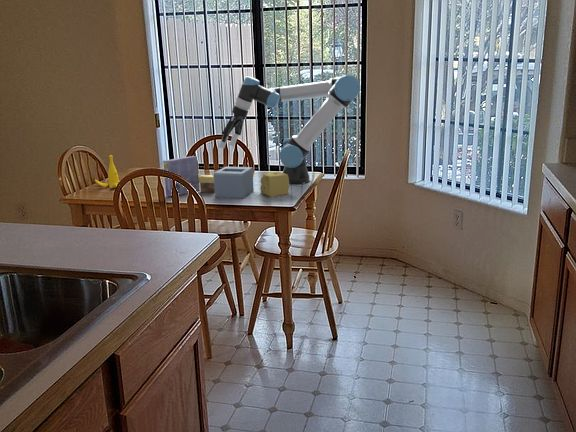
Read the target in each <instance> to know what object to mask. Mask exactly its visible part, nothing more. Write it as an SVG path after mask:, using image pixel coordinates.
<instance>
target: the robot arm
mask: <svg viewBox="0 0 576 432" xmlns="http://www.w3.org/2000/svg"><path fill="white" fill-rule="evenodd" d="M260 83H261V82H260V80H259V79H257V78H255V77H252V76H248V75H246V76H245V78H243V82H242V83H241V88H240V89H239V93H238V95H237V97H236V98H235V100H236V101H235V103H234V104H235V105H233V108H232V114H234V115H231V116H230V118H229V120H228V121H227V123H226V125H225V127H224V129H223V131H222V132H221V135H222V138H221V140H220V143H219V145H218V147H219V148H221V149H223V150H225V148H226V144H227V142H228V139H229V136H230V134H231V133H232V132H233V130H234V132H233V133H232V136H231V139H230V141H229V144H228V145H229V146H232V147H234V148H235V145H236V143H237V142H238V141H237V140H238V137H239V136H241V135H242V131H243V126H244V123H245V122H244V121H245V118H247V116H248V113H249V110H250V108H251V106H252V103H253V101H256V102H258V103H260V104H263V105H265V106H267V107H268V108H271V109H276V108H277V106H278V105H279V103H283V102H289V101H290V102H293V101H297V100H298V101H302V100H310V99H317V98H323V97H324V98H326V99H324V101H323V103H322V104H321V105H320V106H319V108H318V109H317V110H316V111H315V113H313V115H312V116H311V117H310V118H309V120H308V121H307V122H306V124H305V125H304V126H303V127H302V128H301V129H300V130H299V132H298V134H295V135H292V136H290V137H288V138H287V137H285V138H284V139H283V143H282V144H283V147H282V148H281V149H280V151H279V160H280V163H282V165H283V170H282V173H285V174H288V177H289V185H291V184H292V185H295V184H296V185H297V184H298V185H299V184H306V183H309V182H310V181H311V180H310V179H311V178H310V174H309V171H308V168H307V157H308V154H309V153H310V152H311V146H312V145H313V144H314V143H315V141H316V140H317V139H318V138H319V136H320V135H321V134H322V133H323V131H324V130H325V129H326V127H328V125H329V124H331V122H332V121H333V119H334V118H335V117H336V116H337V115H338V113H340V111H341V110H342V109H346V108H347V107H348V106H349V105H350V104H351V103H352V102H353V100H354V99H356V98H357V97H358V95H359V93H360V90H361V85H360V82H359V79H358V78H357V76H355V75H353V74H350V73H348V74H347V73H346V74H343V75H341V76H337V77H331V78H329V80H325V81H324V80H323V81H317V82H309V83H308V82H307V83H301V84H294V85H293V84H292V85H286V86H278V87H269V88H267V87H264V86H263V85H260Z"/></svg>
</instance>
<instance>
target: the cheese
mask: <svg viewBox="0 0 576 432" xmlns="http://www.w3.org/2000/svg"><path fill="white" fill-rule="evenodd" d="M260 183H261V185H260V193H261V194H263V195H266V196H267V197H270V198H273V197H278V196H283V195H288V194H289V192H290V184H289V177H288V174H285V173H283V172H281V171H269V172H267V173H265V174H263V175H262V176H261V178H260Z"/></svg>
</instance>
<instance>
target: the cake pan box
mask: <svg viewBox="0 0 576 432" xmlns="http://www.w3.org/2000/svg"><path fill="white" fill-rule="evenodd" d="M162 163H163V164H162V165H163V171H164V170H168V171H171V172H173V173H176V174H179V175H180V176H182V177H184V178H185V179H187V180H188V181H189V182H190V183H191V185H192V186H193V187H194V188H195V189H196V191H195V192H199V191H200V192H201V189H200V183H199V179H198V177H199V165H198V164H199V163H198V155H192V156H191V155H190V156H185V157H179V158H178V157H177V158H172V159H165V160H163V162H162ZM164 186H165V187H164V188H165V196H166V197H169V198H172V197H171V190H172V180H171V179H168V178H165V177H164ZM176 188H177V190H178V193H179V196H182V195H188V194H189V193H188V191H187V189H186V188H185V187H183V186H182V185H181V184H179V183H177V182H176Z"/></svg>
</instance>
